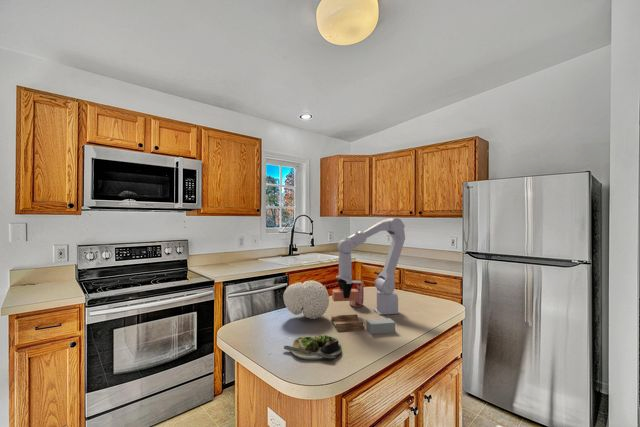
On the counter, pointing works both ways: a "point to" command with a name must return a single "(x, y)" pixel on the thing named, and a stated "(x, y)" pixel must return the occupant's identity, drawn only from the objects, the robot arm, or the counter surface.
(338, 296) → the terracotta brick
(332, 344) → the salad plate
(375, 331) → the gray block
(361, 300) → the soda can
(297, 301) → the white rounded lumpy piece
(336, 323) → the jig
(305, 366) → the counter surface
